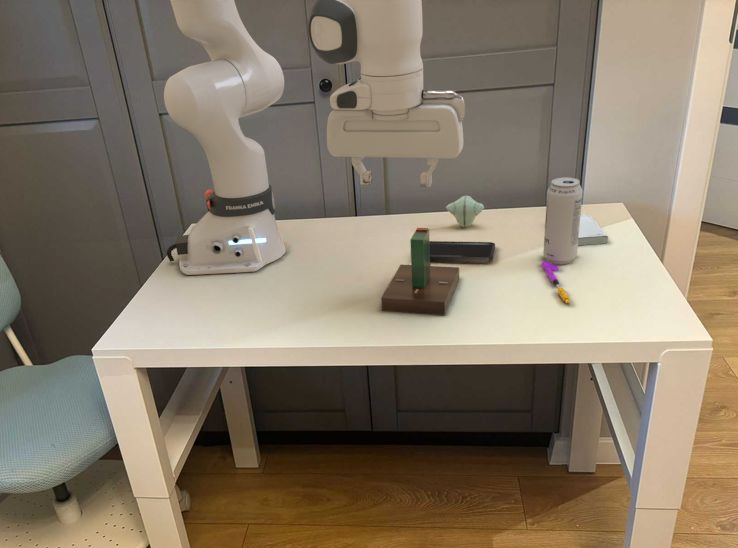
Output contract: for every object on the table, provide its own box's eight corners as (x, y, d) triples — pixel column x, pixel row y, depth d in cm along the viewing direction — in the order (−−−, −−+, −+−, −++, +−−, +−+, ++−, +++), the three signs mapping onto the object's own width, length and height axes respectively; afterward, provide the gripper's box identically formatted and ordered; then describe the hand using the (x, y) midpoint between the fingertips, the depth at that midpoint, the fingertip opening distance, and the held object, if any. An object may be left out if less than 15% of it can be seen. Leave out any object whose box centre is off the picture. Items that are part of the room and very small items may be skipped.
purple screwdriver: (539, 265, 132) (563, 305, 119) (541, 259, 132) (565, 298, 118) (553, 267, 132) (579, 307, 119) (555, 261, 132) (581, 301, 118)
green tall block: (424, 288, 124) (423, 238, 119) (412, 287, 124) (410, 238, 120) (430, 276, 127) (429, 227, 123) (418, 275, 128) (416, 227, 124)
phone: (420, 241, 145) (495, 242, 141) (420, 246, 146) (495, 247, 141) (413, 256, 139) (492, 258, 134) (413, 261, 139) (492, 263, 135)
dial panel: (444, 315, 120) (444, 301, 118) (381, 310, 123) (380, 297, 122) (459, 279, 131) (459, 266, 130) (401, 276, 135) (400, 263, 133)
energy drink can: (546, 251, 138) (551, 175, 130) (578, 254, 135) (585, 176, 128) (540, 264, 133) (545, 186, 126) (573, 267, 131) (580, 187, 123)
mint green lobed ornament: (445, 230, 152) (445, 199, 149) (447, 223, 156) (447, 193, 152) (483, 230, 150) (484, 199, 147) (485, 223, 153) (485, 192, 150)
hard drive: (608, 235, 138) (589, 212, 148) (565, 238, 138) (549, 216, 149) (607, 243, 138) (588, 220, 149) (564, 246, 139) (549, 223, 150)
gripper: (469, 84, 101) (467, 179, 108) (332, 87, 108) (339, 176, 115) (461, 95, 96) (460, 194, 103) (319, 97, 103) (327, 189, 110)
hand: (395, 184), depth 109 cm, fingers open, 8 cm apart
